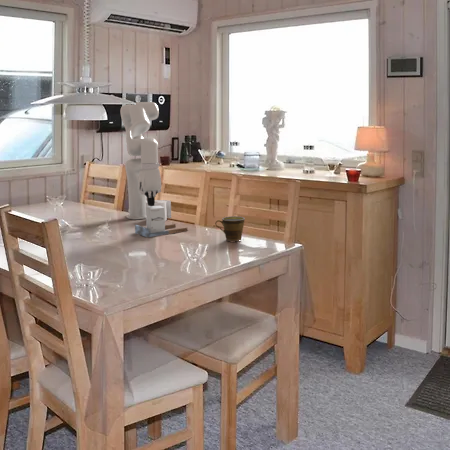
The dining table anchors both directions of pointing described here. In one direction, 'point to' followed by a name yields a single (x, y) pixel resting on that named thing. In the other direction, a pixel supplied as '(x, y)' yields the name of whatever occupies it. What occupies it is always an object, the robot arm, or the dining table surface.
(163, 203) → the toilet tissue
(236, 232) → the ceramic cup
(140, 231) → the blue brown forked frame
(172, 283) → the dining table surface
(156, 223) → the supplement box
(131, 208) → the robot arm
